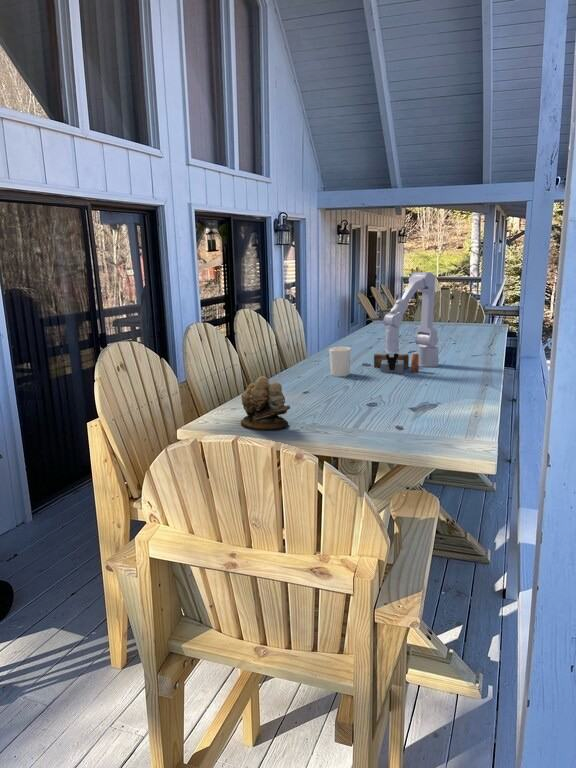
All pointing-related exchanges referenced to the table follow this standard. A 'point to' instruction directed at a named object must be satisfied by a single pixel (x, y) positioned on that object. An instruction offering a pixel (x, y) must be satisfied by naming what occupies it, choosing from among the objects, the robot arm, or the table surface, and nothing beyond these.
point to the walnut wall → (380, 357)
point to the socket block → (398, 366)
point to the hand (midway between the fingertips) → (392, 369)
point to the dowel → (414, 363)
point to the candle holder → (340, 361)
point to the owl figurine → (264, 406)
